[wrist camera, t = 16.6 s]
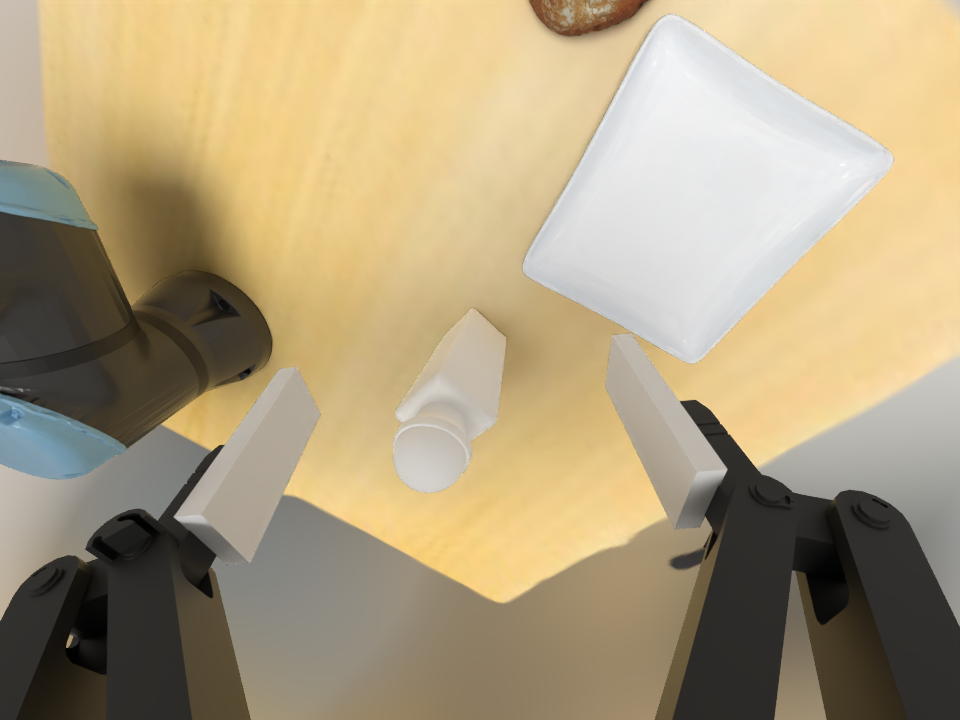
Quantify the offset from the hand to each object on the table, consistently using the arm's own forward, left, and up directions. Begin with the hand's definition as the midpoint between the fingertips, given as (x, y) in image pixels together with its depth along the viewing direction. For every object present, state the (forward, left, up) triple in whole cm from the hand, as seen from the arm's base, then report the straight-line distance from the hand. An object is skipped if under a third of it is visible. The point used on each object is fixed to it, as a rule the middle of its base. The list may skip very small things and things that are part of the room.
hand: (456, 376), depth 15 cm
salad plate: (+15, +4, -26) cm, 30 cm away
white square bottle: (-3, -11, -25) cm, 28 cm away
